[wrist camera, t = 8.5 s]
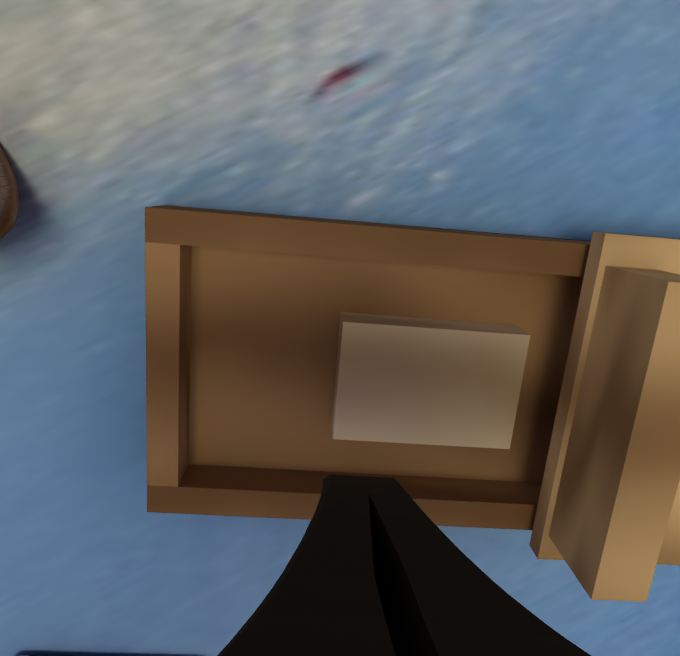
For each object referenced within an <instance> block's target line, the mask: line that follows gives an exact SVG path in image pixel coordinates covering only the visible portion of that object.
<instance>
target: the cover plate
mask: <svg viewBox="0 0 680 656" xmlns="http://www.w3.org/2000/svg"><path fill="white" fill-rule="evenodd" d="M530 547H531V548H532V550H533V552H534V553H535V555H536V557H537V558H538V559H553V560H565V561H566V563H567V564H568V566H569V567H570V569H571V570H572V571H573V573H574V574H575V576H576V577H577V579H578V580H579V582H580V583H581V585H582V586H583V588H584V589H585V591H586V592H587V594H588V595H589V597H590V598H591V599H593V600H619V601H644V602H646V600H647V597H648V593H649V589H650V586H651V582H652V579H653V575H654V571H655V568H656V564H668V565H680V239H674V238H663V237H651V236H639V235H628V234H616V233H604V232H593V234H592V239H591V244H590V249H589V254H588V258H587V263H586V268H585V273H584V278H583V283H582V288H581V293H580V298H579V303H578V308H577V313H576V318H575V323H574V328H573V333H572V338H571V343H570V348H569V352H568V357H567V362H566V367H565V372H564V377H563V382H562V387H561V392H560V397H559V402H558V407H557V412H556V417H555V422H554V427H553V432H552V437H551V442H550V446H549V451H548V456H547V461H546V466H545V471H544V476H543V481H542V486H541V491H540V496H539V501H538V506H537V511H536V516H535V521H534V526H533V531H532V536H531V540H530Z"/></svg>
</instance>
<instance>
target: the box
mask: <svg viewBox="0 0 680 656" xmlns="http://www.w3.org/2000/svg"><path fill="white" fill-rule="evenodd" d="M590 244H591V241H582V240H570V239H559V238H547V237H535V236H523V235H511V234H499V233H487V232H475V231H464V230H452V229H440V228H428V227H416V226H404V225H392V224H380V223H369V222H357V221H345V220H333V219H321V218H309V217H297V216H285V215H273V214H262V213H250V212H238V211H226V210H214V209H202V208H190V207H178V206H167V205H163V206H152V207H145V266H146V397H147V512H160V513H182V514H203V515H224V516H245V517H267V518H288V519H309V520H312V518H313V515H314V513H315V511H316V508H317V505H318V502H319V500H320V496H321V493H322V482H323V479H324V478H325V477H327V476H328V475H329V474H333V475H351V476H370V477H388V478H395V479H396V481H397V482H398V483H399V484H400V485H401V486H402V487H403V489H404V490H405V491H406V492H407V493H408V494H409V495H410V497H411V498H412V499H413V500H414V501H415V502H416V504H417V505H418V506H419V507H420V508H421V509H422V510H423V512H424V513H425V514H426V515H427V516H428V517H429V518H430V519H431V520H432V522H433V523H434V524H435V525H437V526H458V527H479V528H500V529H522V530H533V526H534V521H535V516H536V511H537V506H538V501H539V496H540V491H541V486H542V481H543V476H544V471H545V466H546V461H547V456H548V451H549V446H550V442H551V437H552V432H553V427H554V422H555V417H556V412H557V407H558V402H559V397H560V392H561V387H562V382H563V377H564V372H565V367H566V362H567V357H568V352H569V348H570V343H571V338H572V333H573V328H574V323H575V318H576V313H577V308H578V303H579V298H580V293H581V288H582V283H583V278H584V273H585V268H586V263H587V258H588V254H589V249H590Z"/></svg>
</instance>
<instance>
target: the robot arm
mask: <svg viewBox="0 0 680 656" xmlns="http://www.w3.org/2000/svg"><path fill="white" fill-rule="evenodd" d="M21 656H27V655H21ZM217 656H591V655H589V654H588V653H586V652H585V651H583V650H582V649H580V648H579V647H577V646H576V645H575V644H573V643H572V642H570V641H569V640H567V639H566V638H564V637H563V636H562V635H560V634H559V633H557V632H556V631H555V630H553V629H552V628H551V627H549V626H548V625H547V624H545V623H544V622H543V621H541V620H540V619H539V618H537V617H536V616H535V615H534V614H532V613H531V612H530V611H529V610H527V609H526V608H525V607H524V606H522V605H521V604H520V603H519V602H517V601H516V600H515V599H513V598H512V597H511V596H510V595H508V594H507V593H506V592H505V591H504V590H503V589H501V588H500V587H499V586H498V585H497V584H496V583H494V582H493V581H492V580H491V579H490V578H489V577H488V576H487V575H486V574H485V573H484V572H482V571H481V570H480V569H479V568H478V567H477V566H476V565H475V564H474V563H473V562H472V561H471V560H470V559H468V558H467V557H466V556H465V555H464V554H463V553H462V552H461V551H460V550H459V549H458V548H457V547H456V546H455V545H454V544H453V543H452V542H451V541H450V540H449V539H448V538H447V537H446V535H445V534H444V533H443V532H442V531H441V530H440V529H439V528H438V527H437V526H436V525H435V524H434V523H433V522H432V520H431V519H430V518H429V517H428V516H427V515H426V514H425V513H424V512H423V510H422V509H421V508H420V507H419V506H418V505H417V504H416V502H415V501H414V500H413V499H412V498H411V497H410V495H409V494H408V493H407V492H406V491H405V490H404V489H403V487H402V486H401V485H400V484H399V483H398V482H397V481H396V479H395V478H388V477H370V476H351V475H333V474H329V475H328V476H327V477H325V478H324V479H323V482H322V493H321V496H320V500H319V502H318V505H317V508H316V511H315V513H314V515H313V518H312V520H311V522H310V524H309V526H308V528H307V530H306V533H305V535H304V537H303V539H302V540H301V542H300V544H299V546H298V548H297V549H296V551H295V553H294V554H293V556H292V558H291V559H290V561H289V563H288V565H287V566H286V568H285V570H284V571H283V573H282V574H281V576H280V577H279V579H278V580H277V582H276V583H275V585H274V586H273V588H272V589H271V591H270V592H269V593H268V595H267V596H266V597H265V599H264V600H263V602H262V603H261V604H260V606H259V607H258V608H257V610H256V611H255V612H254V613H253V615H252V616H251V617H250V618H249V619H248V621H247V622H246V623H245V624H244V625H243V627H242V628H241V629H240V630H239V631H238V633H237V634H236V635H235V636H234V637H233V639H232V640H231V641H230V642H229V643H228V644H227V646H226V647H225V648H224V649H223V650H222V651H221V652H220V653H219V654H218V655H217Z"/></svg>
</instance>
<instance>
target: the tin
mask: <svg viewBox="0 0 680 656" xmlns="http://www.w3.org/2000/svg"><path fill="white" fill-rule="evenodd" d="M18 212H19V193H18V187H17V182H16V178H15V176H14V173H13V170H12V168H11V166H10V164H9V162H8V159H7V157H6V155H5V153H4V151H3V150H2V148H1V146H0V239H1V238H2V237H4V236H5V235H6V234H7V233H8V232H9V231H10V229H11V228H12V227H13V226H14V224H15V222H16V219H17V216H18Z"/></svg>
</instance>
